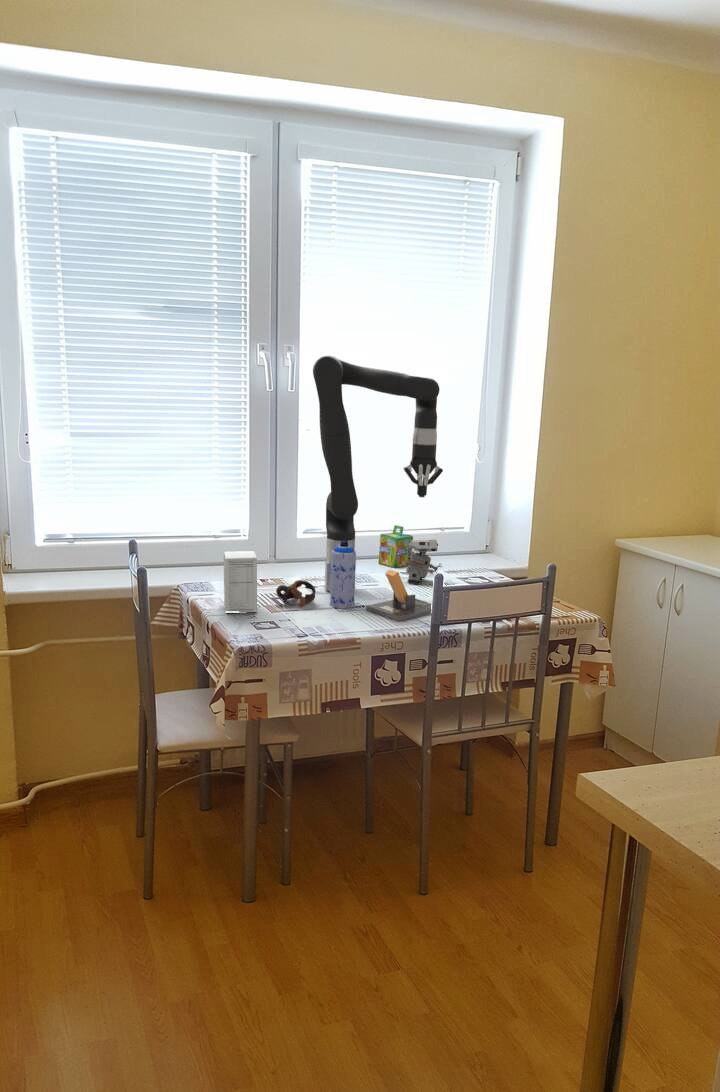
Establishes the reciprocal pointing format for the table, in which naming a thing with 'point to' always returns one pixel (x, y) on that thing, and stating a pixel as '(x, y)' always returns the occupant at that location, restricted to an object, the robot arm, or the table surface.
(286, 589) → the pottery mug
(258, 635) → the table surface
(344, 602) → the blue patterned bottle
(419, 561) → the figurine
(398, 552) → the chalk box
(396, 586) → the lever
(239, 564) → the supplement box
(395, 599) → the plate
